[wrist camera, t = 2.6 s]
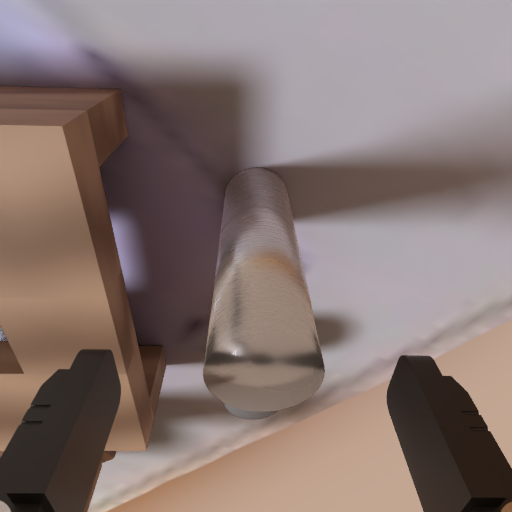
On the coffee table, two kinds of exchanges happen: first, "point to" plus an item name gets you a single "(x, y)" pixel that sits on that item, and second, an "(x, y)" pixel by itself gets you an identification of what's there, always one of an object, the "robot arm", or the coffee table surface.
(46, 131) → the brown block with hole
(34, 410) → the robot arm
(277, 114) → the coffee table surface
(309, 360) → the long pin
